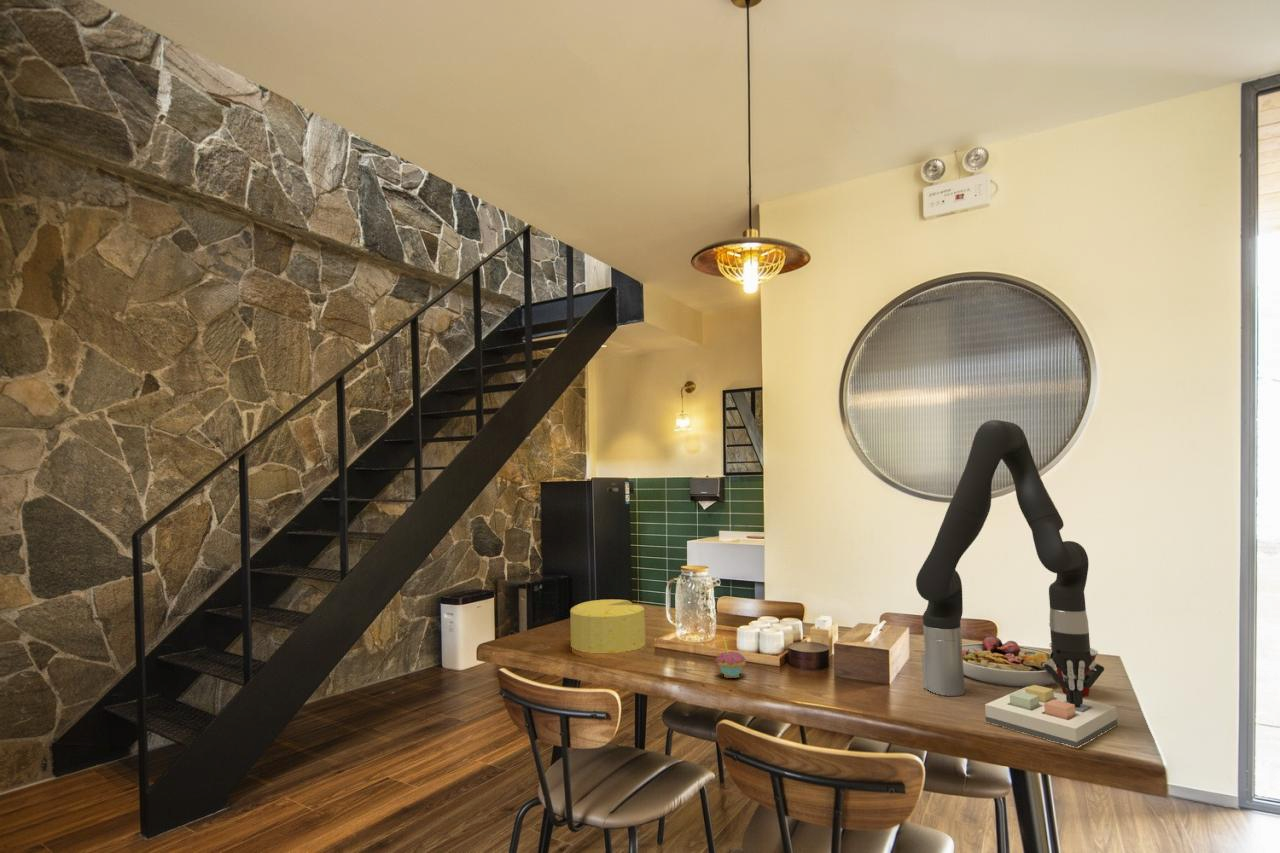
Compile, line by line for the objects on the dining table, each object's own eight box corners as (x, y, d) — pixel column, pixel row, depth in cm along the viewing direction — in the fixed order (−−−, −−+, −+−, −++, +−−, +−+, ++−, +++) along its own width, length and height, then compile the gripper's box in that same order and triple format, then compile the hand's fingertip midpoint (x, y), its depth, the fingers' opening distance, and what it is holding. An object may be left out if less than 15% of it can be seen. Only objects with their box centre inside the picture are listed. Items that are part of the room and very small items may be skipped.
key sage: (1010, 705, 152) (1009, 695, 153) (1019, 701, 155) (1018, 691, 155) (1030, 710, 149) (1029, 699, 149) (1039, 706, 151) (1038, 695, 151)
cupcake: (714, 679, 190) (712, 637, 191) (720, 671, 198) (718, 631, 199) (743, 682, 187) (741, 639, 188) (748, 673, 195) (746, 632, 196)
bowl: (1087, 693, 172) (1085, 662, 172) (964, 688, 178) (962, 659, 178) (1042, 661, 201) (1040, 635, 202) (937, 658, 207) (936, 632, 208)
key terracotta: (1045, 714, 146) (1044, 703, 146) (1054, 710, 149) (1053, 699, 149) (1066, 720, 143) (1065, 709, 143) (1075, 715, 145) (1074, 704, 145)
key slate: (1060, 716, 150) (1060, 705, 150) (1069, 711, 153) (1068, 701, 153) (1082, 721, 147) (1081, 710, 147) (1090, 717, 149) (1089, 706, 149)
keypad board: (986, 722, 152) (984, 704, 153) (1029, 703, 164) (1028, 686, 165) (1077, 749, 137) (1075, 728, 137) (1117, 725, 149) (1115, 706, 149)
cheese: (656, 642, 235) (655, 600, 236) (627, 662, 211) (626, 614, 212) (591, 637, 245) (590, 596, 246) (556, 655, 221) (556, 610, 222)
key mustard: (1025, 698, 157) (1025, 688, 157) (1034, 694, 159) (1033, 684, 159) (1045, 703, 153) (1044, 693, 153) (1054, 699, 156) (1053, 689, 156)
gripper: (1044, 632, 149) (1050, 710, 147) (1109, 633, 146) (1115, 712, 145) (1031, 624, 156) (1036, 699, 155) (1092, 625, 154) (1098, 701, 152)
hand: (1075, 705), depth 150 cm, fingers closed
